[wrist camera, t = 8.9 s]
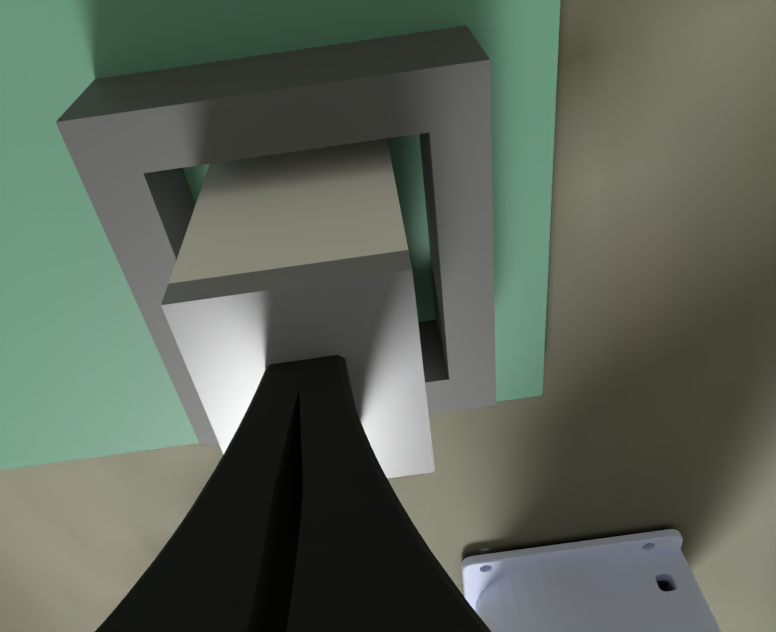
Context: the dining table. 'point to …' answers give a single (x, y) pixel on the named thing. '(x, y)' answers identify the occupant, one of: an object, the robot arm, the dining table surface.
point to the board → (248, 140)
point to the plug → (304, 290)
